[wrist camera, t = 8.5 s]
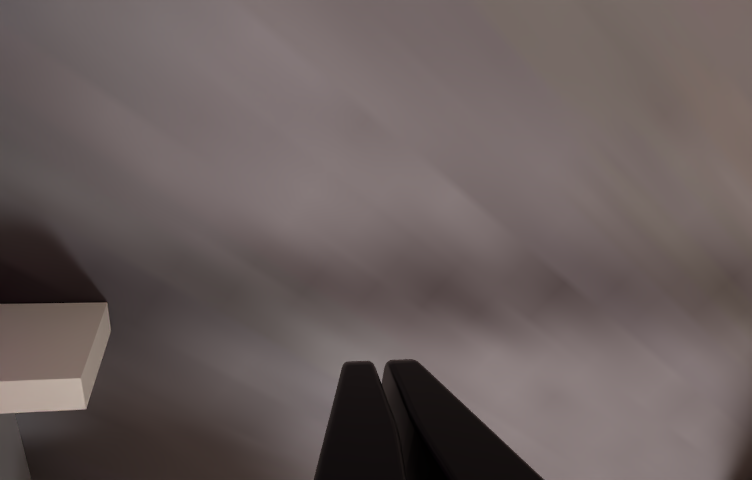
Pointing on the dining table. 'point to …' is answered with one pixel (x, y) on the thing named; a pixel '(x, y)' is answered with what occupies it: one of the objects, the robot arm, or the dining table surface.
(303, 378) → the dining table surface
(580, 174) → the dining table surface
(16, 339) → the tray
